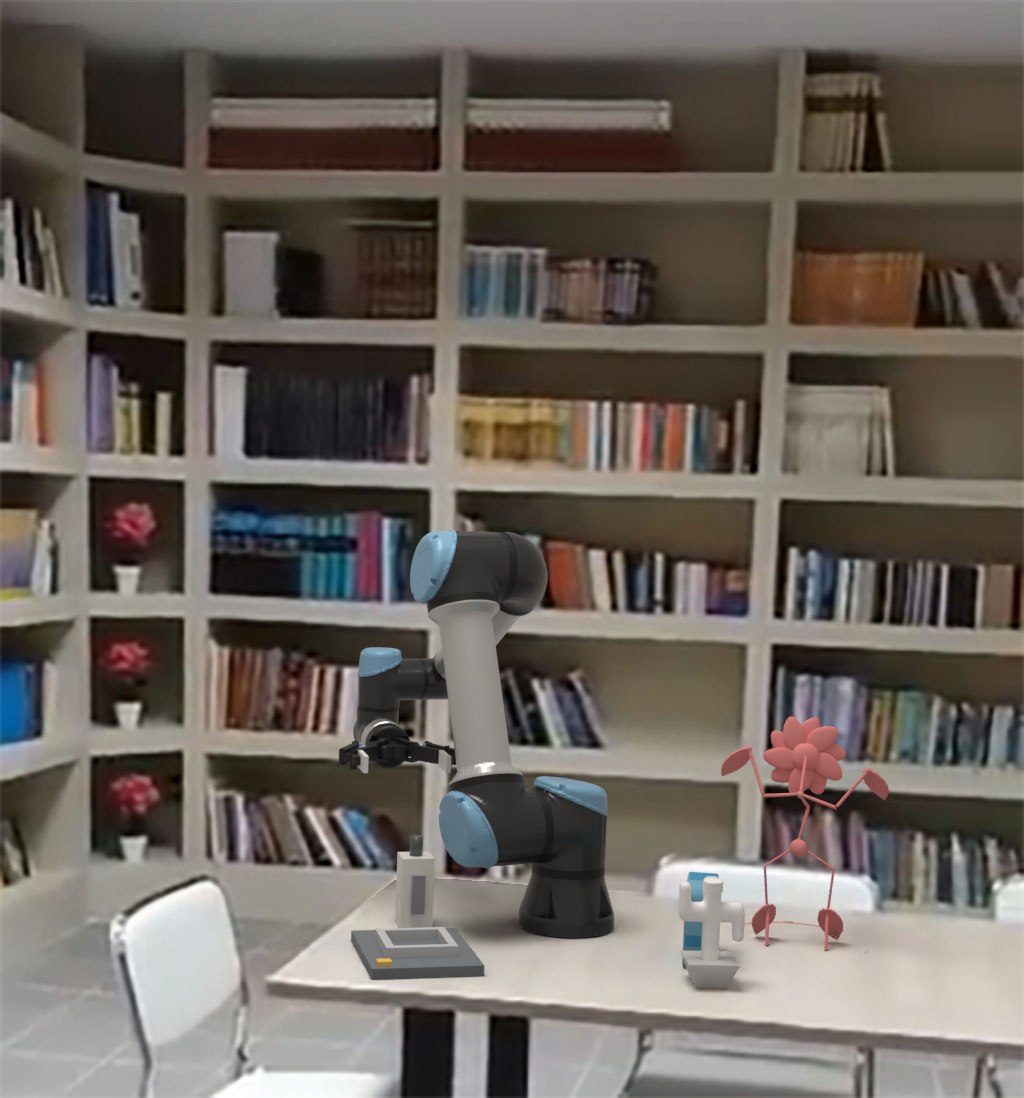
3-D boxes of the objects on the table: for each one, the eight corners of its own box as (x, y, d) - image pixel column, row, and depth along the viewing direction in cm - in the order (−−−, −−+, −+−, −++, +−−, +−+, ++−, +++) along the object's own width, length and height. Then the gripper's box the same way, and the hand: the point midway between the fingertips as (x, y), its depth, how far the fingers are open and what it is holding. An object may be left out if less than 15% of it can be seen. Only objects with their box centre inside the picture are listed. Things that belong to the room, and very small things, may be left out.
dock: (455, 937, 253) (455, 918, 253) (484, 975, 233) (484, 954, 233) (351, 940, 249) (351, 920, 249) (371, 979, 230) (372, 958, 229)
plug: (426, 920, 262) (429, 832, 262) (433, 930, 257) (436, 840, 256) (394, 921, 261) (398, 833, 261) (401, 930, 256) (404, 840, 255)
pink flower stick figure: (883, 957, 251) (894, 728, 250) (712, 943, 255) (722, 717, 254) (877, 931, 266) (887, 715, 265) (716, 918, 271) (725, 705, 269)
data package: (713, 971, 240) (716, 889, 240) (681, 969, 241) (685, 887, 240) (715, 949, 252) (718, 871, 252) (685, 947, 253) (688, 869, 252)
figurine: (746, 991, 231) (751, 885, 230) (680, 990, 230) (684, 883, 230) (735, 976, 238) (740, 873, 238) (671, 975, 237) (675, 871, 237)
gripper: (455, 765, 292) (481, 787, 271) (313, 765, 286) (330, 788, 265) (456, 722, 292) (483, 742, 271) (315, 721, 285) (331, 741, 265)
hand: (407, 764), depth 268 cm, fingers open, 13 cm apart
